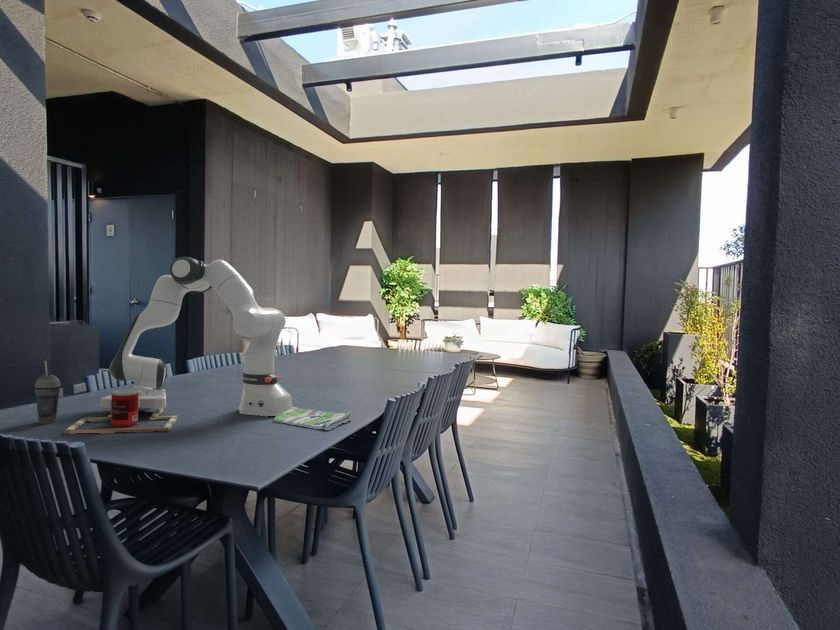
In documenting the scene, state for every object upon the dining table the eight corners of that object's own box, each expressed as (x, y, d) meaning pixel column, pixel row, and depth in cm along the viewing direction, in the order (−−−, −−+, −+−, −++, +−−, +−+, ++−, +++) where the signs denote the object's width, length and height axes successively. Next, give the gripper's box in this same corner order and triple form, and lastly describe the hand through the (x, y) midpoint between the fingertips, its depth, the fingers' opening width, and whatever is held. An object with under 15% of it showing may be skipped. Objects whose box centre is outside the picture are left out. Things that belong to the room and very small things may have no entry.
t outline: (97, 409, 190) (97, 407, 190) (184, 408, 198) (184, 405, 198) (63, 434, 159) (63, 431, 159) (168, 431, 167) (168, 428, 167)
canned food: (135, 420, 178) (136, 388, 178) (139, 425, 172) (140, 392, 171) (109, 423, 173) (110, 390, 173) (112, 428, 167) (113, 394, 167)
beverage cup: (43, 425, 167) (44, 363, 166) (28, 423, 170) (28, 361, 169) (66, 420, 174) (66, 360, 173) (50, 418, 176) (51, 358, 176)
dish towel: (327, 433, 175) (327, 422, 175) (270, 424, 183) (270, 413, 183) (352, 421, 191) (353, 412, 191) (299, 413, 199) (299, 404, 199)
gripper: (107, 389, 187) (94, 397, 173) (169, 389, 192) (162, 396, 179) (106, 407, 187) (93, 416, 174) (169, 406, 192) (161, 415, 179)
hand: (129, 406), depth 176 cm, fingers closed, pressing on canned food
